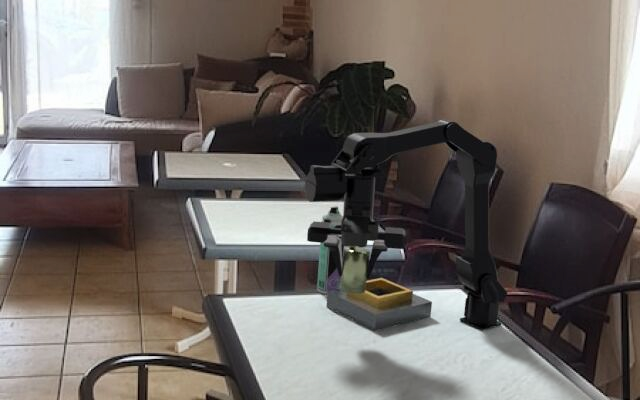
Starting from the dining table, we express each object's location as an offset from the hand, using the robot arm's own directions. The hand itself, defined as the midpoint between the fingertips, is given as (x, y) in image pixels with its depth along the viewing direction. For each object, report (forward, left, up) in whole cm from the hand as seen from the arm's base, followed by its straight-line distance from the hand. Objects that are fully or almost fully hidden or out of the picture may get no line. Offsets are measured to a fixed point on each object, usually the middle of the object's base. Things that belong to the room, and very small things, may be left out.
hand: (354, 277), depth 159 cm
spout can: (0, 0, -3) cm, 3 cm away
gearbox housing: (+7, -14, -12) cm, 20 cm away
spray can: (+23, -13, -12) cm, 29 cm away
